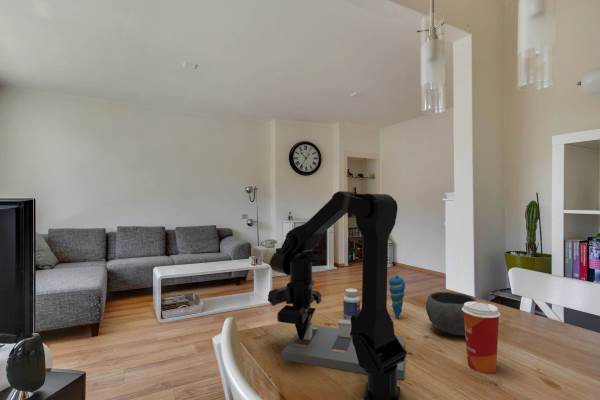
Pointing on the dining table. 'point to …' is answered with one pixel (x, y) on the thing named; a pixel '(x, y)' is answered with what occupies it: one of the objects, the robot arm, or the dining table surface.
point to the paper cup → (481, 335)
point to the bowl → (448, 311)
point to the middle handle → (344, 328)
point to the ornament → (397, 294)
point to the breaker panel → (329, 351)
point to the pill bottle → (351, 303)
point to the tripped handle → (308, 332)
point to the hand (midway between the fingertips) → (301, 338)
